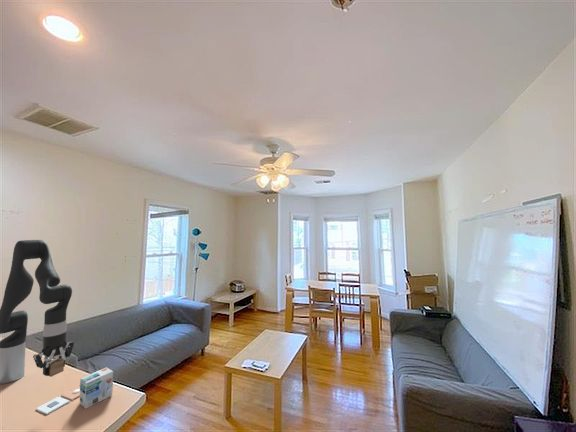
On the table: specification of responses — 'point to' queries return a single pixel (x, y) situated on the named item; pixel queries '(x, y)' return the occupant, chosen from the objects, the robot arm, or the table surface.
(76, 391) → the mug tile
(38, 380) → the table surface
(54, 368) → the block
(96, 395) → the light bulb box
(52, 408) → the box tile
